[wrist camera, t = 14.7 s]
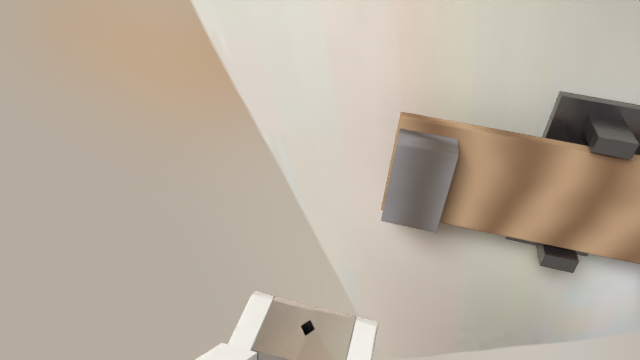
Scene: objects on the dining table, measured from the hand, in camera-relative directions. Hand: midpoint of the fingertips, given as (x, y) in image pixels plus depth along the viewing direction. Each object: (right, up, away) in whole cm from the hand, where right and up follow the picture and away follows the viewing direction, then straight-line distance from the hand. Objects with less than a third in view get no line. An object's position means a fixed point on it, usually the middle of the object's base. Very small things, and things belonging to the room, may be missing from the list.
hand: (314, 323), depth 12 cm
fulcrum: (+24, +4, +36) cm, 44 cm away
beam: (+23, +2, +33) cm, 40 cm away
